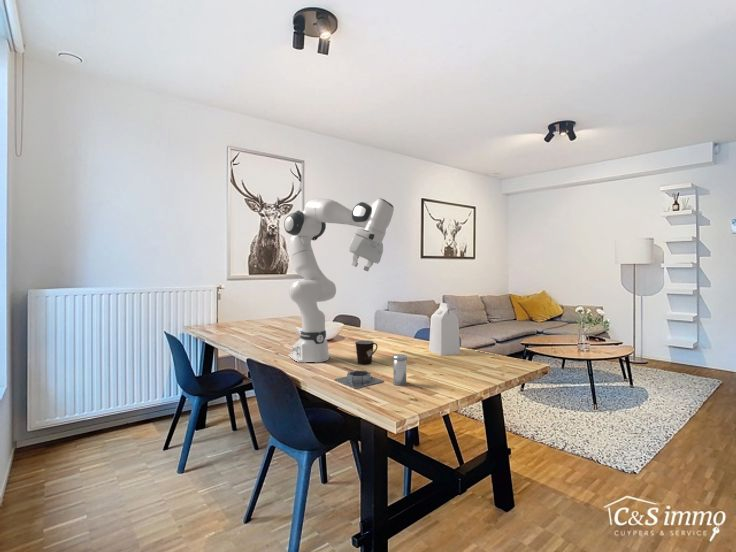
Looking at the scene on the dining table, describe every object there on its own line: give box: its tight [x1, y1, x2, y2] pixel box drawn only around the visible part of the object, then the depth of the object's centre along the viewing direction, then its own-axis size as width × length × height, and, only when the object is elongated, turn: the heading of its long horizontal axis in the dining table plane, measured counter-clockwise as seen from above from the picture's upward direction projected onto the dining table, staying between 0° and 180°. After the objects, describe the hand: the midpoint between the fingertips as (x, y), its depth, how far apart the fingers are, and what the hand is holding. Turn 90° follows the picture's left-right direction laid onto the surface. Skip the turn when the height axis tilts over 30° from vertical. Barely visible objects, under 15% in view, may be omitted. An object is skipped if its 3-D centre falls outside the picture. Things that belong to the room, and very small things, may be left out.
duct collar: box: [333, 369, 385, 390], centre depth 154 cm, size 14×14×3 cm
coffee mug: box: [354, 339, 379, 366], centre depth 183 cm, size 12×9×10 cm
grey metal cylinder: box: [392, 353, 408, 387], centre depth 150 cm, size 5×5×11 cm
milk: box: [428, 302, 461, 356], centre depth 206 cm, size 12×12×26 cm
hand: (359, 268), depth 161 cm, fingers open, 8 cm apart
